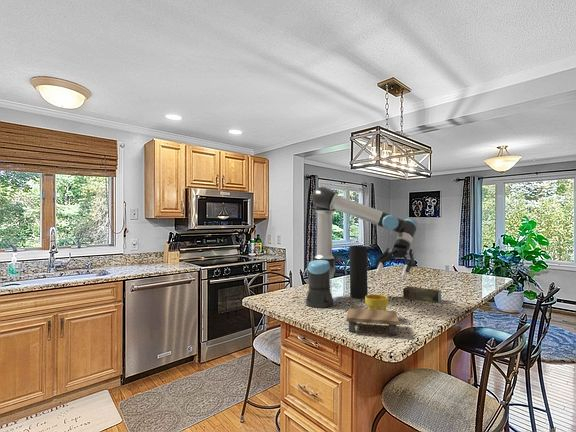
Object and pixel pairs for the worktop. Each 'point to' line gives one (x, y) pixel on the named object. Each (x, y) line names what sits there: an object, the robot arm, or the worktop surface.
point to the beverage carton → (422, 294)
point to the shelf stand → (372, 318)
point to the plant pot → (376, 302)
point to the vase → (358, 271)
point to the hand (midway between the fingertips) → (389, 275)
